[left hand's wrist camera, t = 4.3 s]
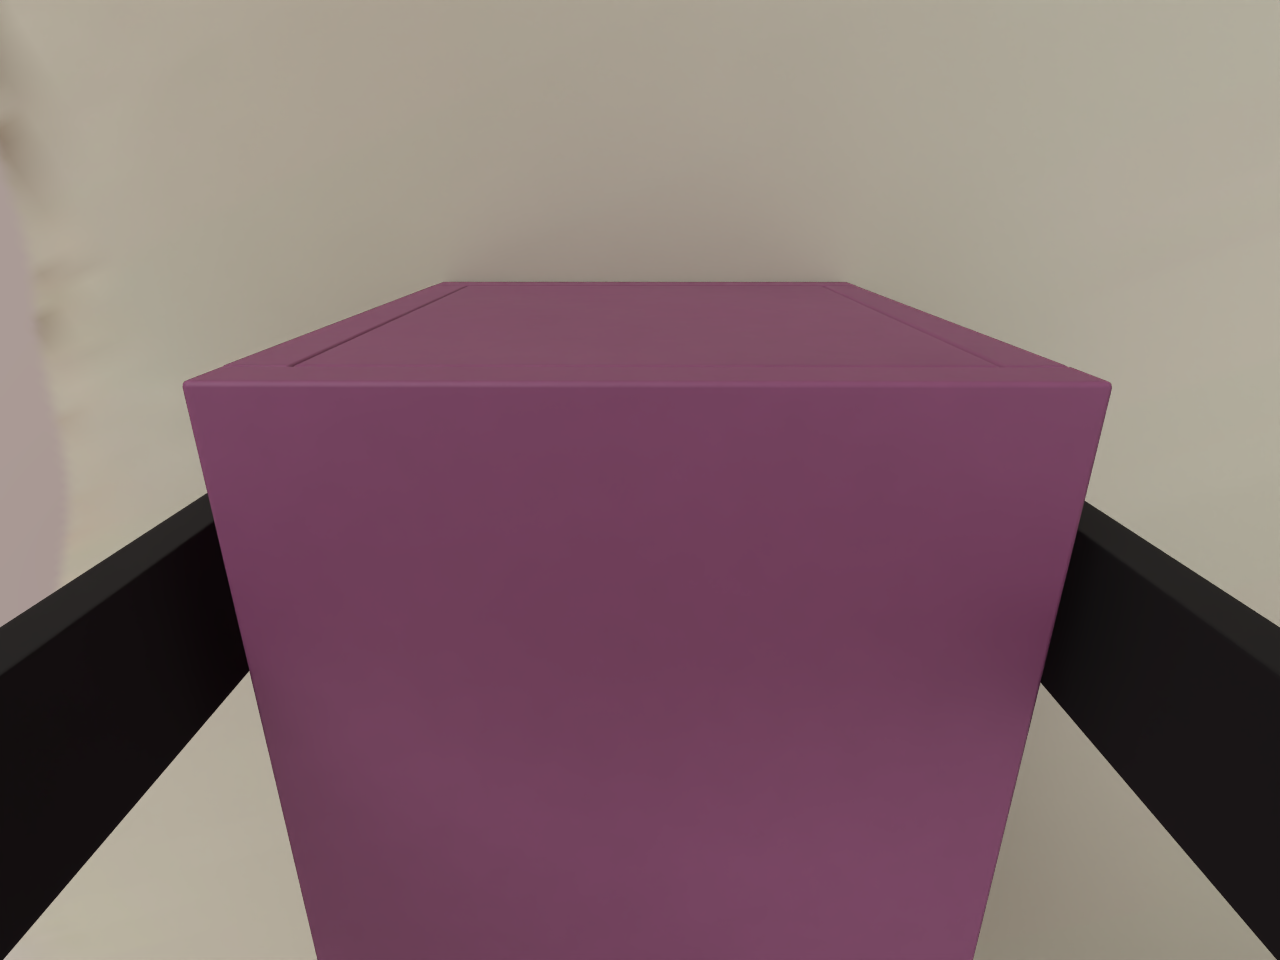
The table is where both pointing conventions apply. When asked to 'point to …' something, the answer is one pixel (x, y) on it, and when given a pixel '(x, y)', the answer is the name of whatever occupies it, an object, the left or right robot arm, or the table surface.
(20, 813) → the left robot arm
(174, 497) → the table surface
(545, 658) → the cabinet
